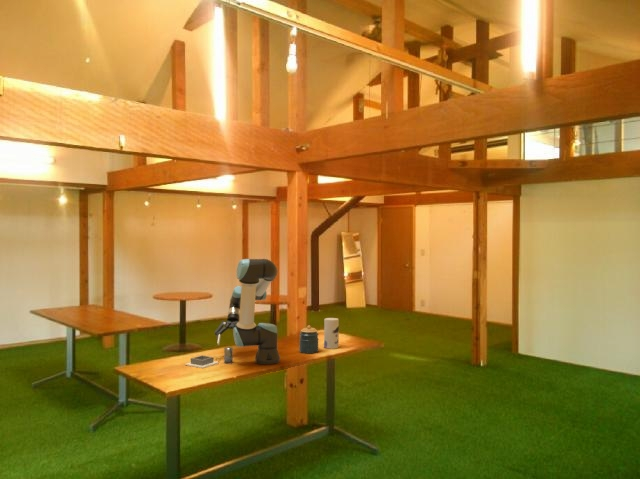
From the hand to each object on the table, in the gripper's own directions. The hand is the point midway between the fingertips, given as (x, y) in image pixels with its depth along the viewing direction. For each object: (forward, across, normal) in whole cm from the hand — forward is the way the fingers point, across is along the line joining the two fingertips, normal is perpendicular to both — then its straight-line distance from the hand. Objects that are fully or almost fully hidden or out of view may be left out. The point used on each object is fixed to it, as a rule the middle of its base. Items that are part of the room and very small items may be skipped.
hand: (229, 344), depth 295 cm
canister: (-10, -49, -25) cm, 56 cm away
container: (-19, -64, -34) cm, 75 cm away
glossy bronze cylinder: (+11, -1, -3) cm, 11 cm away
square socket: (+14, +14, 0) cm, 20 cm away
